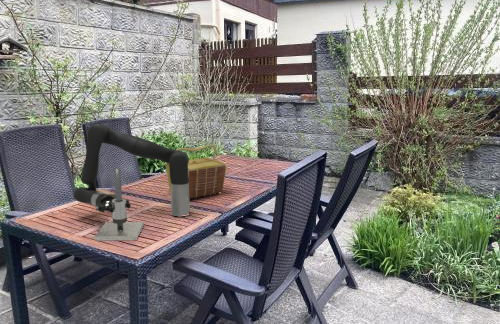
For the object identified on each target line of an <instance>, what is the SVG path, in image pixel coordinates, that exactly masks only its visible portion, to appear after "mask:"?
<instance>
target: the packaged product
mask: <svg viewBox="0 0 500 324" xmlns="http://www.w3.org/2000/svg"><path fill="white" fill-rule="evenodd" d="M96 191H98V192H101V193H105V194H108V195H111V196H112V197H113V198H114V199H116V195H115V192H112V191H110V190H108V189H106V188H96Z"/></svg>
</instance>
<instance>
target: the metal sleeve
mask: <svg viewBox="0 0 500 324" xmlns="http://www.w3.org/2000/svg"><path fill="white" fill-rule="evenodd" d="M125 199H126V198H123V199H122V201H120V202H116V199H114V200H112V207H113V208H114V212H113V213H112V216H111V217H112V220H113V219H116V220H118V219H124V218H126V217H127V218H128V216H127V214H128V213H127V208H126V200H125Z"/></svg>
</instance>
